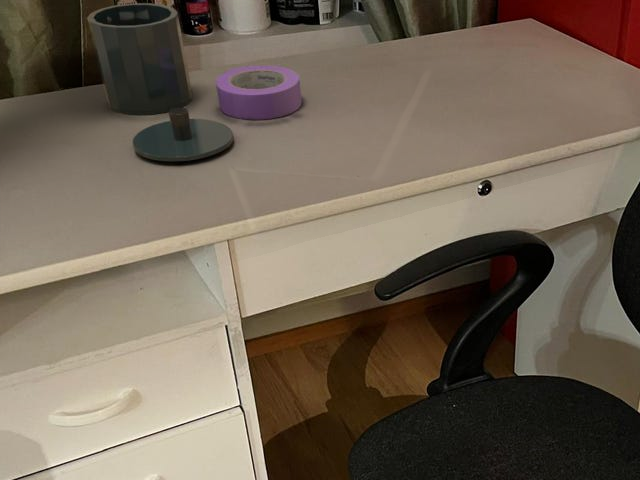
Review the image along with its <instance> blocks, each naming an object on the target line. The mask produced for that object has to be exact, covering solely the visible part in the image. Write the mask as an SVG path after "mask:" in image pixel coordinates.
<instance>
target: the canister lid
mask: <svg viewBox="0 0 640 480" xmlns="http://www.w3.org/2000/svg"><path fill="white" fill-rule="evenodd" d="M168 116H169V117H168V118H169V120H168V121H162V122H159V123H156V124H152V125H150V126H147V127H146V128H143V129H142V130H140V131H138V132H137V133H136V135H134V136H133V139H132V146H133V150H134V152H135V153H136V154H138V155H140V156H141V157H143V158H146V159H149V160H152V161H153V160H154V161H161V162H186V161H194V160H199V159H204V158H209V157H211V156H213V155H217V154H219V153H221V152H223V151H224V150H226V149H228V148H229V147H230V146H231V145H232V144H233V141H234V133H233V130H232V129H231V128H230V127H229V126H228V125H226V124H224V123H222V122H220V121H216V120H211V119H203V118H190V114H189V110H188V109H187V108H185V107H181V108H174V109H171V110H170V111H169V112H168Z"/></svg>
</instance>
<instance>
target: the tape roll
mask: <svg viewBox="0 0 640 480" xmlns="http://www.w3.org/2000/svg"><path fill="white" fill-rule="evenodd" d="M215 86H216V91H217V98H218V105H219V109H220V111H221V112H222V113H223V114H225V115H227V116H229V117H232V118H236V119H241V120H250V121H251V120H253V121H256V120H257V121H262V120H263V121H264V120H270V119H271V120H272V119H276V118H281V117H285V116H287V115H290V114H292V113H294V112H296V111H298V110H299V109H300V108H301V106H302V103H303V101H302V91H301V82H300V76H299V74H298V73H297V72H295V71H294V70H292V69H290V68H287V67H284V66H279V65H267V64H266V65H265V64H262V65H259V64H257V65H247V66H242V67H241V66H240V67H236V68H234V69H230V70H228V71H227V70H226V71H225V72H223V73H222V74H220V75H219V76H218V77H217V78H216V80H215Z"/></svg>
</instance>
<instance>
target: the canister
mask: <svg viewBox="0 0 640 480" xmlns="http://www.w3.org/2000/svg"><path fill="white" fill-rule="evenodd" d="M86 19H87V24H88V28H89V31H90V36H91V40H92V44H93V49H94V53H95V57H96V60H97V65H98V69H99V73H100V77H101V82H102V87H103V90H104V94H105V98H106V101H107V103H108V106H109V108H110V109H111V110H112V111H115V112H117V113H120V114H124V115H134V116H149V115H150V116H152V115H158V114H159V115H160V114H164V113H169V111H170V110H171V109H174V108H184V107H185V106H187V105H188V104H189V103H190V102H191V101H192V98H193V92H192V86H191V79H190V74H189V67H188V63H187V58H186V51H185V46H184V40H183V35H182V29H181V24H180V23H181V22H180V19H179V12H178V11H177V10H176V9H175V8H173V7H171V6H167V5H165V4H161V3H159V4H158V3H150V2H149V3H148V2H147V3H146V2H143V3H142V2H139V3H137V2H136V3H135V2H134V3H133V2H132V3H124V4H118V5H117V4H116V5H110V6H107V7H102V8H99V9H97V10H94V11H92V12H91V13H90V14H89V15H87V18H86Z"/></svg>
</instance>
